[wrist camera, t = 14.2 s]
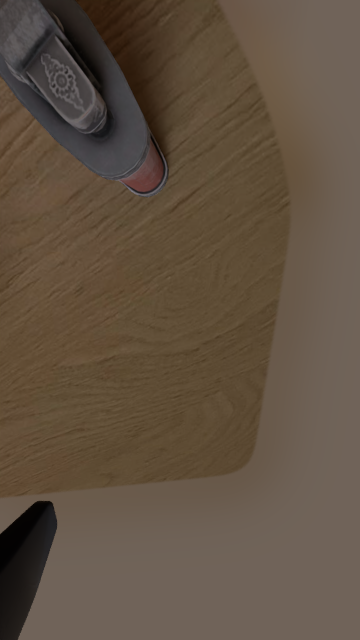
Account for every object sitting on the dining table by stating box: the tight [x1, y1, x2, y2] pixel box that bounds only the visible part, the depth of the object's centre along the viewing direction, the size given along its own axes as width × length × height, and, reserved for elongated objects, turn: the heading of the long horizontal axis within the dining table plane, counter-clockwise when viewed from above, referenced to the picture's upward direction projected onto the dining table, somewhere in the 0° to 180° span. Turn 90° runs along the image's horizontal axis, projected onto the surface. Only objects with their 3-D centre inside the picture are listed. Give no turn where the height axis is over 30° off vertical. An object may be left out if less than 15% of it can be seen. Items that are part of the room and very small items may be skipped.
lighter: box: [0, 0, 169, 197], centre depth 11 cm, size 8×3×10 cm, turn 39°
